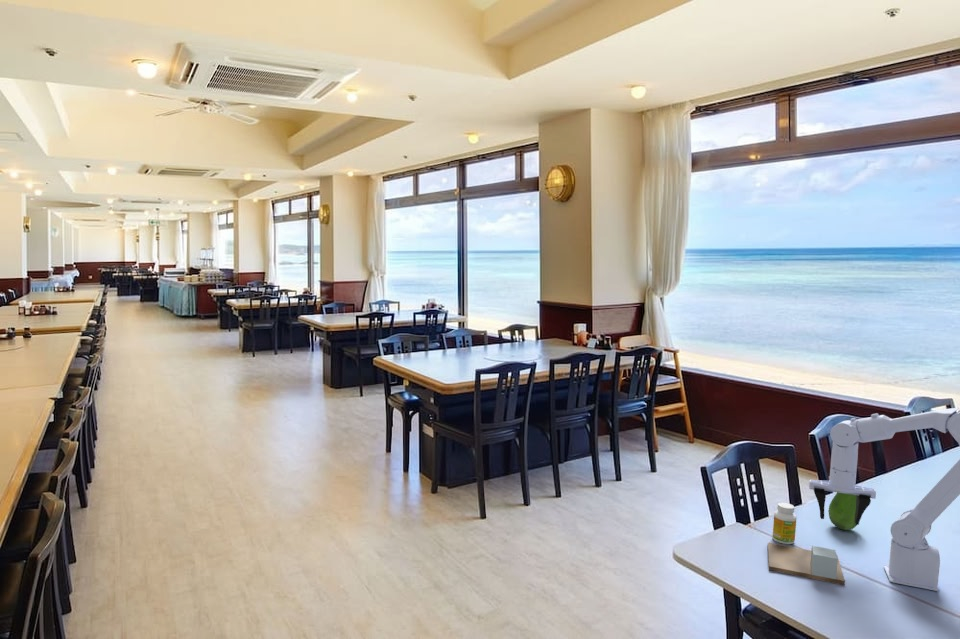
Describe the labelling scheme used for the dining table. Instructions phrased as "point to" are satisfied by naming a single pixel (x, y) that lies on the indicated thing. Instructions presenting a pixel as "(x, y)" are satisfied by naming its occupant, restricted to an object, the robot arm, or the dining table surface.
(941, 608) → the dining table surface
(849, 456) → the robot arm
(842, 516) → the avocado
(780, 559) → the brown wooden board
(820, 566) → the pale blue-gray cube
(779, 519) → the supplement bottle
